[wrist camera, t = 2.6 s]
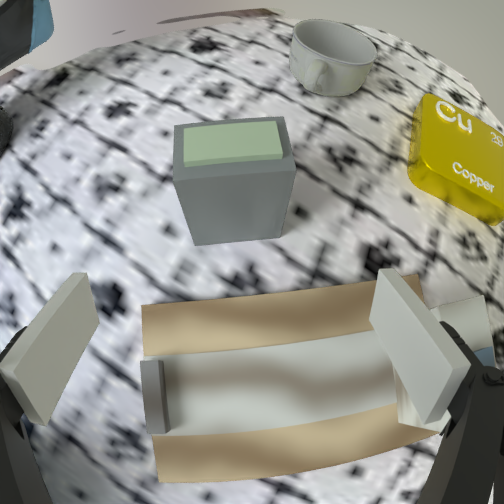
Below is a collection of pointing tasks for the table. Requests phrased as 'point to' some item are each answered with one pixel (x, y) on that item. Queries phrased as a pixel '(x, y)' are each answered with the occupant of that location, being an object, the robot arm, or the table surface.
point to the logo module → (233, 178)
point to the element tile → (457, 159)
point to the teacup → (330, 57)
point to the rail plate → (281, 382)
